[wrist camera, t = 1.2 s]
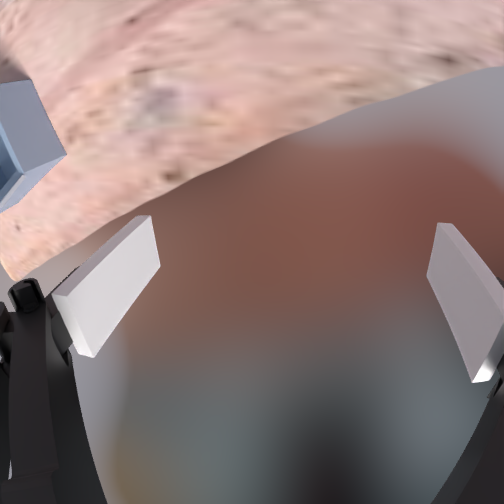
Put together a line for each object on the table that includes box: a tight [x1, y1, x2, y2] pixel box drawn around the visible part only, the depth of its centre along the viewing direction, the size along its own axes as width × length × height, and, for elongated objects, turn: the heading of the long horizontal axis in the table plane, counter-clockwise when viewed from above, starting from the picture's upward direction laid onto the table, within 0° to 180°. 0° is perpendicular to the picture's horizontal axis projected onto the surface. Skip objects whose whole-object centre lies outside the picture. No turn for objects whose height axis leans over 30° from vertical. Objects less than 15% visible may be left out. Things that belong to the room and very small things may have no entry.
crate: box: [0, 79, 67, 213], centre depth 39 cm, size 16×18×10 cm
